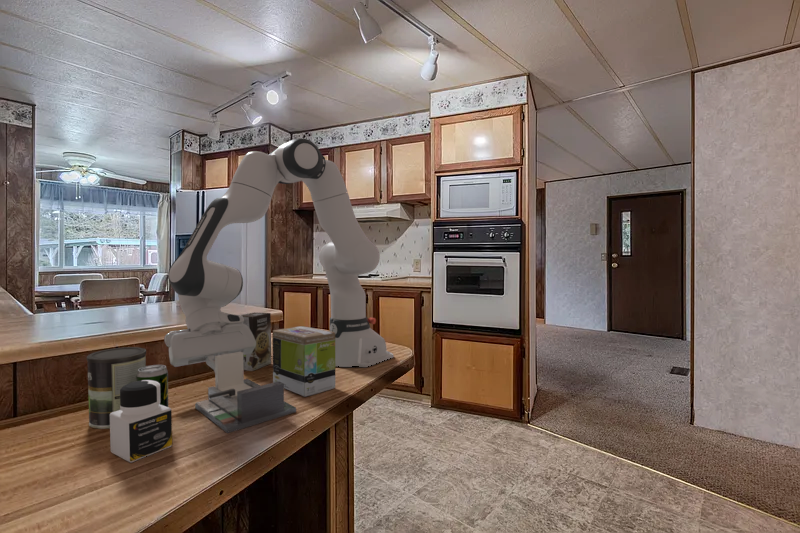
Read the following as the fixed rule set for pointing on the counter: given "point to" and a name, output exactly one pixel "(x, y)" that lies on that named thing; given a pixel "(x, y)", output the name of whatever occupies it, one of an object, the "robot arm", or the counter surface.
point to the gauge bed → (246, 406)
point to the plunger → (229, 375)
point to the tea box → (304, 359)
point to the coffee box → (258, 340)
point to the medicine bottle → (140, 422)
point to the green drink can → (156, 379)
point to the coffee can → (110, 380)
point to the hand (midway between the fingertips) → (222, 372)
